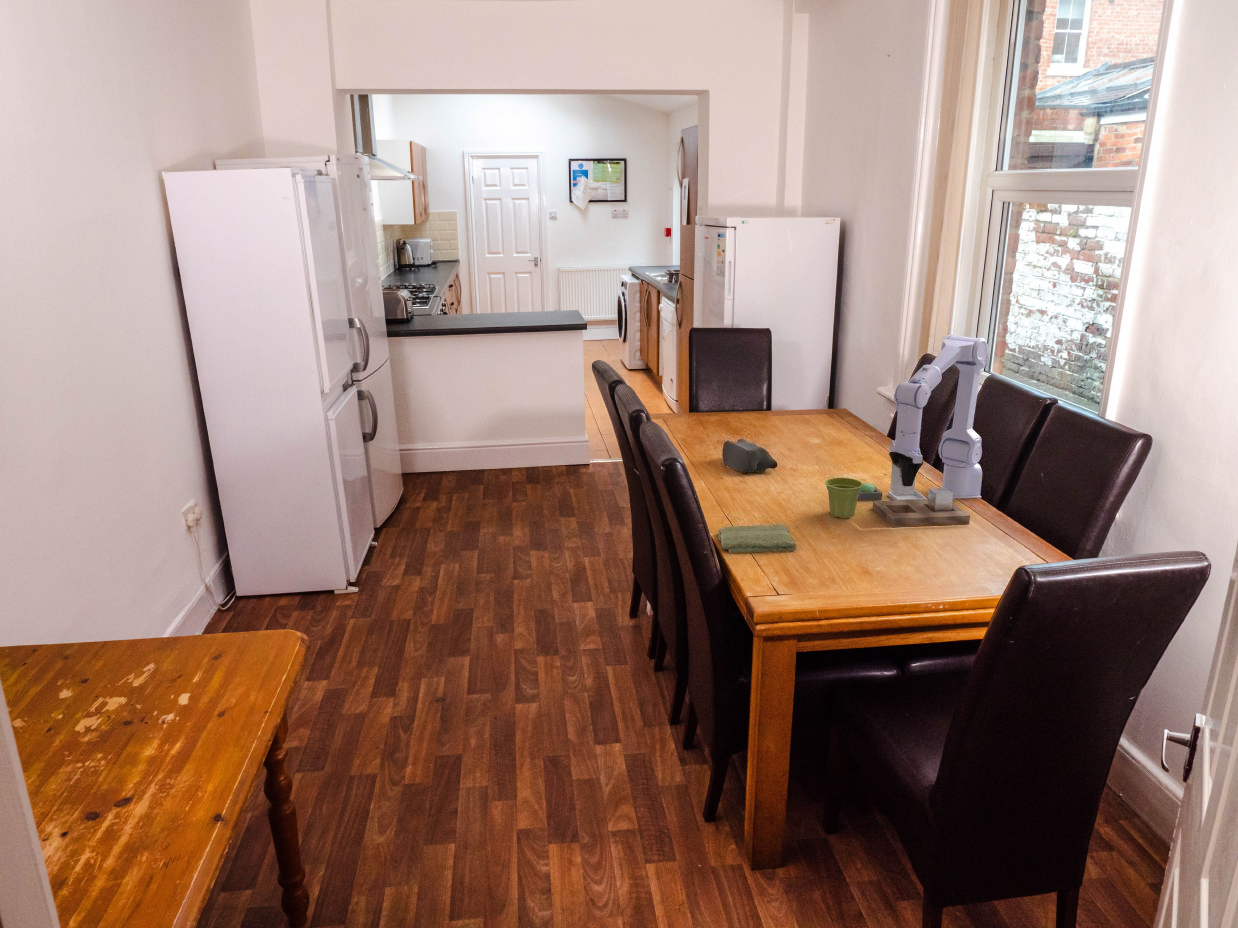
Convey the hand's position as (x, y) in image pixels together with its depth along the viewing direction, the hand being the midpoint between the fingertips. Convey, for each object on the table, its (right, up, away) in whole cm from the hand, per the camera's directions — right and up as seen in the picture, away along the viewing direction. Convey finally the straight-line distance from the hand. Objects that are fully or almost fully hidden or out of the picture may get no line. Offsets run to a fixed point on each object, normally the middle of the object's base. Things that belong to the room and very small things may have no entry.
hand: (903, 482), depth 219 cm
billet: (0, -2, +1) cm, 2 cm away
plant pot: (-14, -9, +6) cm, 17 cm away
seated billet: (+10, -9, +4) cm, 14 cm away
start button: (-4, -4, +18) cm, 18 cm away
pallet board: (+5, -9, +3) cm, 11 cm away
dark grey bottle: (-32, +3, +47) cm, 57 cm away
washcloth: (-39, -15, -12) cm, 44 cm away
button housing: (-4, -4, +18) cm, 19 cm away
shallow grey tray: (+6, -5, +16) cm, 18 cm away
